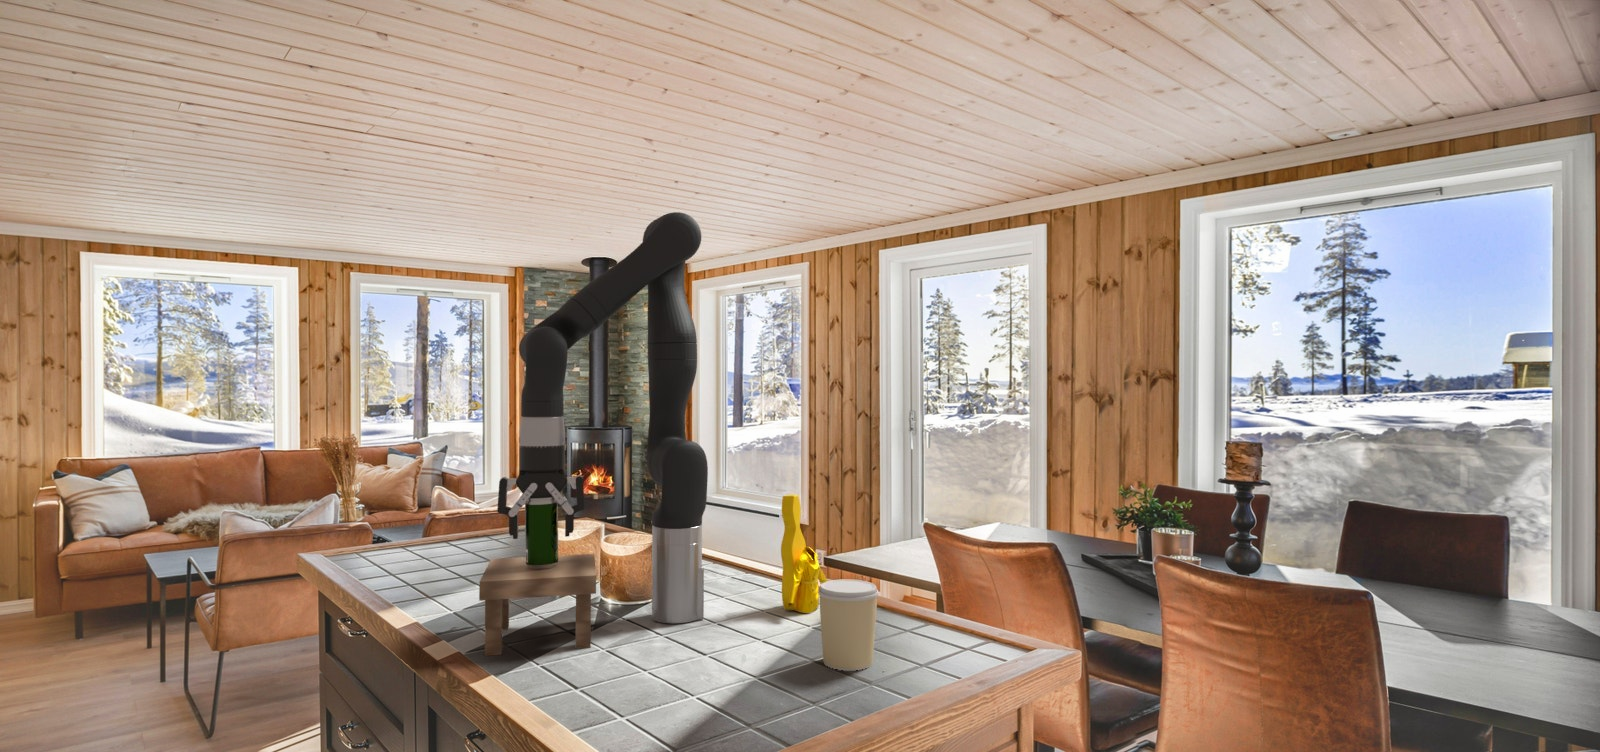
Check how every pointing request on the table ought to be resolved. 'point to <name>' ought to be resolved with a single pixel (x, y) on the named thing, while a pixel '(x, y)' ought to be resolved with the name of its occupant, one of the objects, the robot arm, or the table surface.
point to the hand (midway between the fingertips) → (541, 537)
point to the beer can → (541, 532)
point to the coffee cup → (848, 623)
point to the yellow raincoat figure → (798, 562)
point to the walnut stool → (536, 592)
